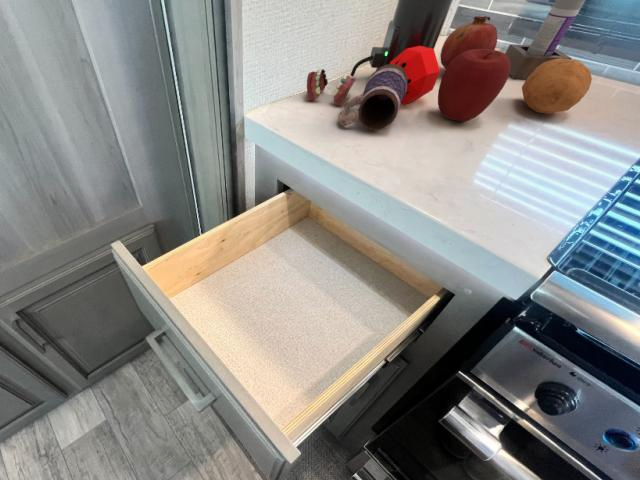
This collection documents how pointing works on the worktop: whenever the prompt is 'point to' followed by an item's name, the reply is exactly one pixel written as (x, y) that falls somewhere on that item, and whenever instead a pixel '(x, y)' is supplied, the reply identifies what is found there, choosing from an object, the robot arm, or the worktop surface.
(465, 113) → the apple
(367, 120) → the mug
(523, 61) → the socket
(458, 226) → the worktop surface
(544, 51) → the container
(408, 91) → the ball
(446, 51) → the fruit
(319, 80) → the dentures
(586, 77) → the potato
